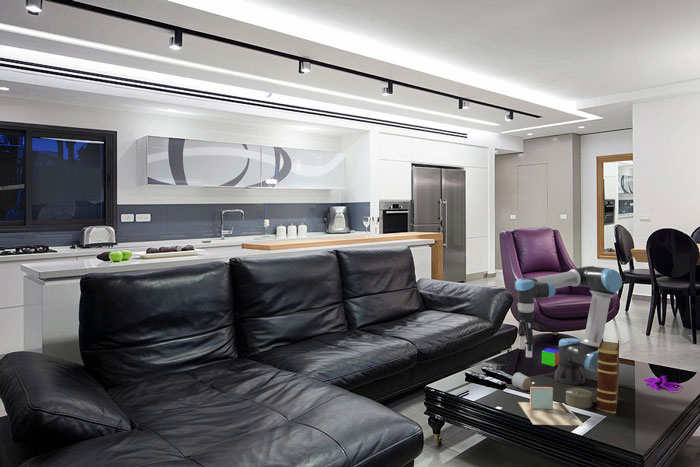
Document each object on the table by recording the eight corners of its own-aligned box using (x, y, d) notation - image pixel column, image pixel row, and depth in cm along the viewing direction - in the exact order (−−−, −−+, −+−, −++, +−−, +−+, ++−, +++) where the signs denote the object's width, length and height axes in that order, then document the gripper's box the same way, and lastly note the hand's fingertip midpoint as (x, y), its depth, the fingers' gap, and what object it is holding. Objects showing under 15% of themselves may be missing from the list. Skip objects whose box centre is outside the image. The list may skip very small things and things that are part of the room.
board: (563, 405, 233) (563, 403, 233) (584, 428, 210) (584, 425, 210) (517, 404, 235) (517, 402, 235) (533, 427, 211) (533, 424, 211)
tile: (551, 407, 228) (551, 387, 227) (553, 409, 226) (553, 388, 225) (529, 407, 229) (530, 386, 228) (531, 409, 227) (531, 388, 226)
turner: (564, 404, 231) (564, 403, 231) (577, 419, 216) (577, 417, 215) (556, 404, 232) (556, 402, 232) (569, 419, 216) (569, 417, 216)
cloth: (644, 377, 272) (644, 367, 272) (684, 385, 261) (684, 374, 260) (638, 389, 255) (638, 378, 255) (680, 398, 243) (680, 386, 243)
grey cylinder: (523, 392, 250) (523, 378, 250) (511, 387, 257) (511, 373, 257) (537, 389, 255) (538, 374, 255) (525, 384, 262) (525, 370, 262)
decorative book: (615, 416, 222) (617, 351, 220) (596, 412, 226) (597, 349, 224) (618, 399, 241) (619, 340, 239) (600, 396, 245) (601, 337, 243)
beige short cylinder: (596, 412, 226) (596, 397, 226) (568, 410, 228) (569, 396, 228) (588, 401, 238) (588, 388, 238) (562, 400, 240) (562, 386, 240)
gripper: (512, 305, 253) (511, 345, 254) (524, 316, 228) (524, 360, 229) (526, 305, 252) (526, 345, 253) (541, 316, 227) (540, 361, 228)
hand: (525, 353), depth 241 cm, fingers open, 13 cm apart
